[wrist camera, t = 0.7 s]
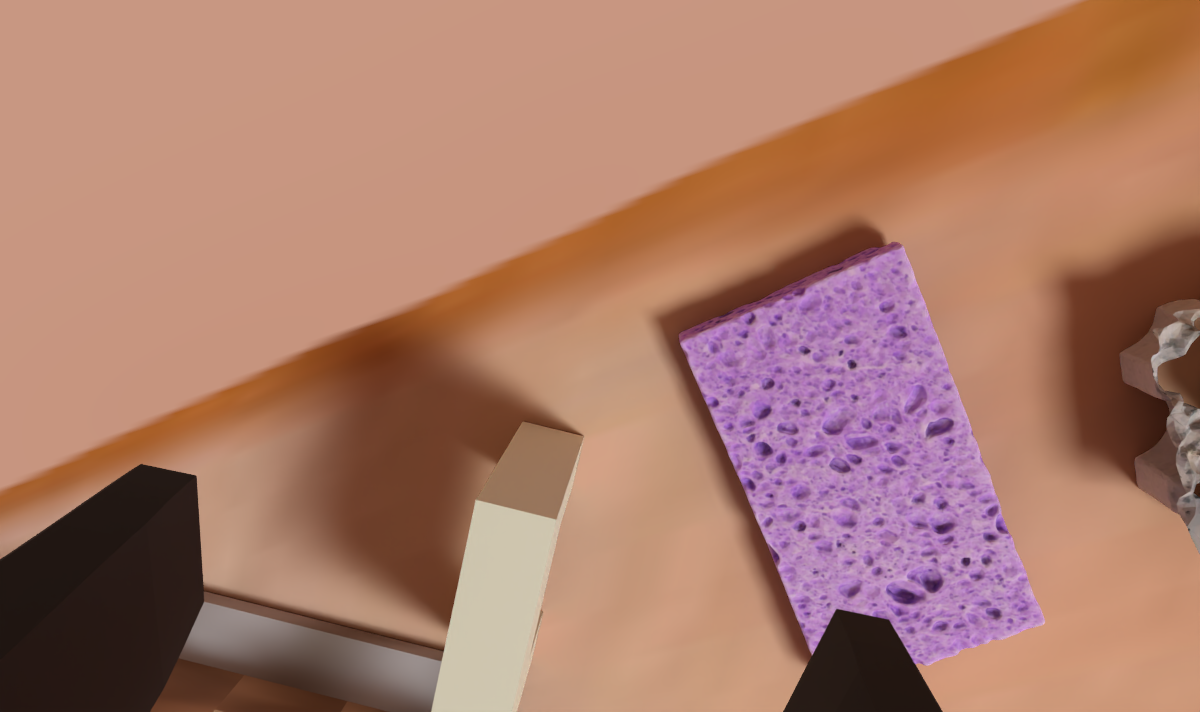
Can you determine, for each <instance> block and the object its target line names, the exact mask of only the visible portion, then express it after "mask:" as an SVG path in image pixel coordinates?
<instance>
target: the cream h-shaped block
mask: <svg viewBox="0 0 1200 712" xmlns="http://www.w3.org/2000/svg"><path fill="white" fill-rule="evenodd" d="M583 439H584V436H581V435H577V434H573V433H569V432H565V431H561V430H556V429H552V428H548V427H544V426H540V425H536V424H532V423H528V422H522V423H521V425H520V427H519V428H518V430H517V432H516V433H515V435H514V437H513V438H512V440H511V442H510V443H509V445H508V447H507V448H506V450H505V452H504V453H503V455H502V457H501V458H500V460H499V462H498V463H497V465H496V467H495V468H494V470H493V472H492V473H491V475H490V477H489V478H488V480H487V482H486V483H485V485H484V487H483V489H482V490H481V492H480V494H479V495H478V497H477V499H476V501H475V506H474V511H473V515H472V520H471V525H470V530H469V534H468V539H467V544H466V549H465V553H464V558H463V563H462V568H461V572H460V577H459V582H458V587H457V591H456V596H455V601H454V606H453V610H452V615H451V620H450V625H449V629H448V634H447V639H446V644H445V648H444V653H443V658H442V663H441V667H440V672H439V677H438V682H437V686H436V691H435V696H434V701H433V705H432V710H431V712H517V709H518V706H519V702H520V699H521V696H522V692H523V689H524V685H525V682H526V678H527V675H528V671H529V668H530V664H531V661H532V657H533V652H534V648H535V644H536V640H537V635H538V631H539V627H540V622H541V618H542V614H543V611H540V610H541V606H542V602H543V598H544V593H545V589H546V585H547V580H548V576H549V572H550V568H551V563H552V559H553V555H554V550H555V546H556V542H557V538H558V533H559V529H560V525H561V521H562V518H563V515H564V512H565V509H566V506H567V502H568V499H569V496H570V493H571V490H572V486H573V482H574V477H575V473H576V469H577V464H578V460H579V456H580V452H581V447H582V443H583Z"/></svg>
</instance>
